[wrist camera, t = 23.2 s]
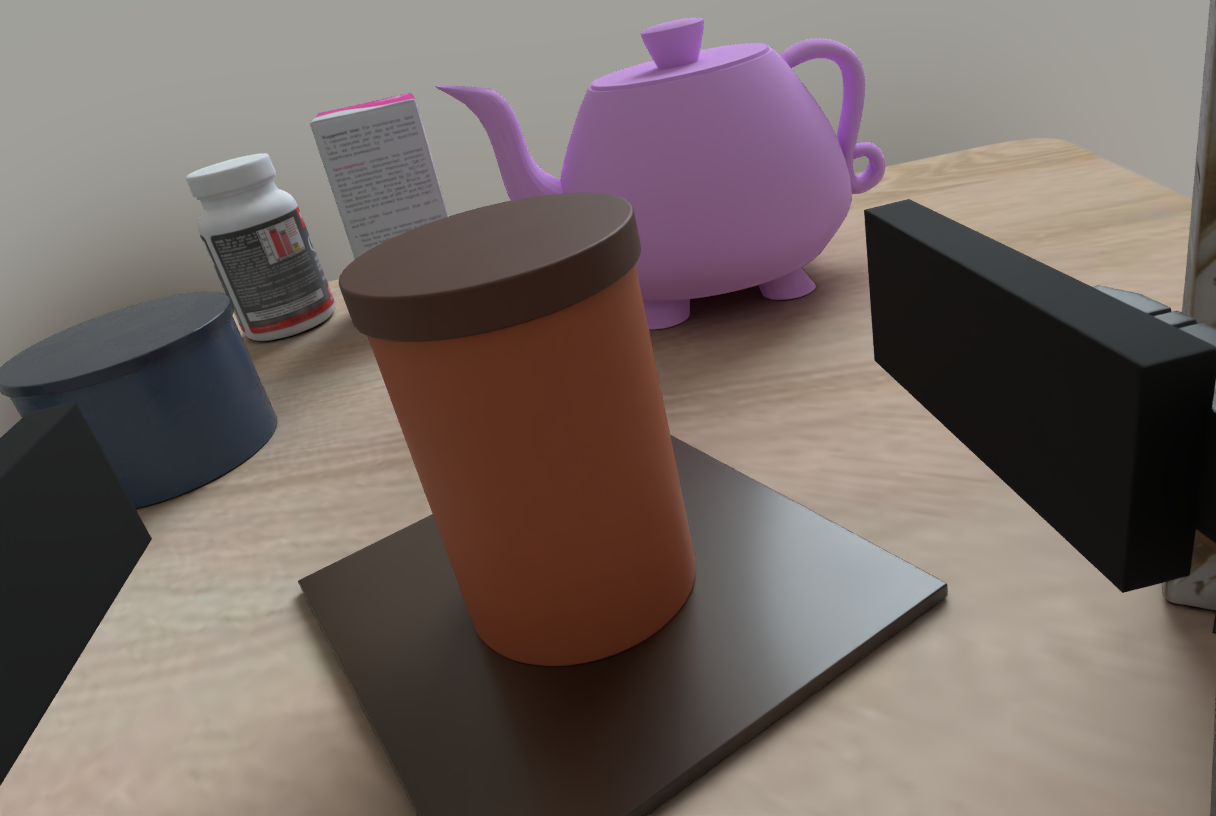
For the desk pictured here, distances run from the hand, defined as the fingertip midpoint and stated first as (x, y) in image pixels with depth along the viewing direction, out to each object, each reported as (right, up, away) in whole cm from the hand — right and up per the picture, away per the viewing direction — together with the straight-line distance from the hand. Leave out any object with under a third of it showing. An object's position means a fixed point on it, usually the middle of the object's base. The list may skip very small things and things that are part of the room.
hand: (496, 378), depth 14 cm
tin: (-18, -3, +24) cm, 30 cm away
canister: (+1, -5, +10) cm, 11 cm away
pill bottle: (-18, +5, +39) cm, 43 cm away
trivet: (+1, -6, +10) cm, 11 cm away
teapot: (+6, +5, +29) cm, 31 cm away
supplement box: (-9, +6, +37) cm, 39 cm away
